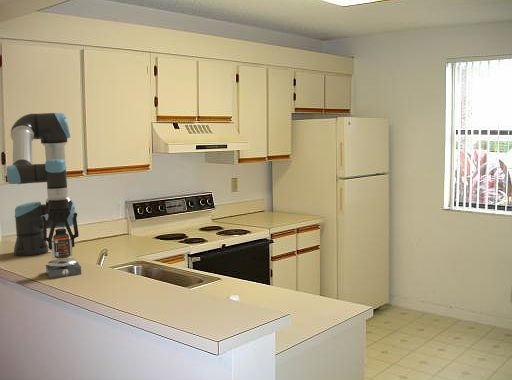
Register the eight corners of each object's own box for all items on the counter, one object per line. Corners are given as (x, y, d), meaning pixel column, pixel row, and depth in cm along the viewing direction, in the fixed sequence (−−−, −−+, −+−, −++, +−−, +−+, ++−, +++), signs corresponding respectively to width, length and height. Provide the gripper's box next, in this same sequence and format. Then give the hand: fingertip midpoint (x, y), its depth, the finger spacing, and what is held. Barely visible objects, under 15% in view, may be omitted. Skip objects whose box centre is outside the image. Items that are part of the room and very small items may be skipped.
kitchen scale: (46, 272, 232) (45, 260, 231) (77, 268, 237) (76, 256, 237) (49, 278, 222) (48, 266, 221) (81, 274, 227) (80, 262, 226)
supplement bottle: (58, 259, 225) (55, 231, 223) (52, 257, 229) (49, 229, 228) (72, 257, 229) (70, 229, 227) (66, 254, 233) (64, 227, 232)
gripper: (33, 201, 219) (38, 261, 221) (84, 197, 227) (88, 255, 230) (31, 199, 225) (36, 257, 228) (81, 195, 234) (85, 251, 236)
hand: (62, 256), depth 229 cm, fingers closed on supplement bottle, 6 cm apart
